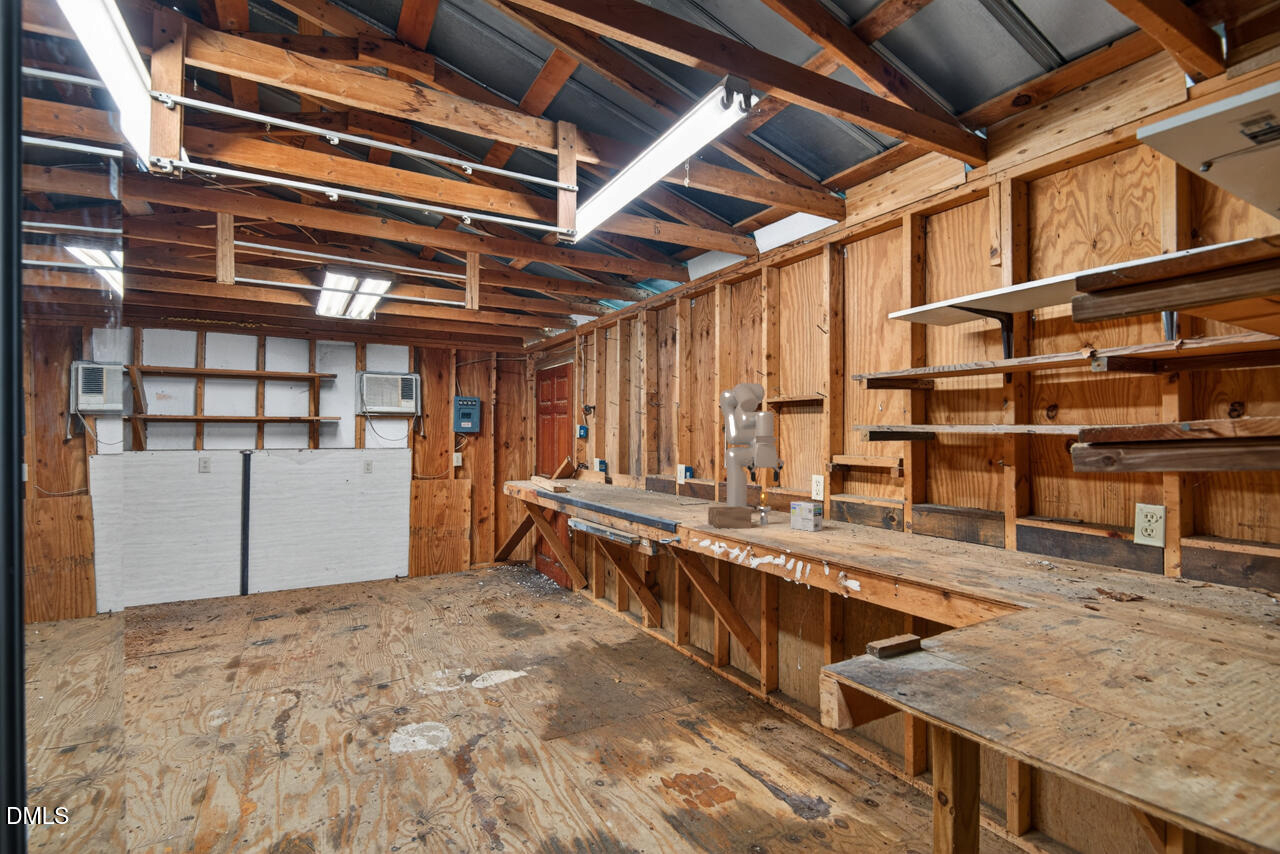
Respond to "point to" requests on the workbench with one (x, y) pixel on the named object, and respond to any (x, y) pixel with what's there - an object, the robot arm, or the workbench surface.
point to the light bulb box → (806, 516)
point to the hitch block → (729, 517)
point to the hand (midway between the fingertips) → (764, 481)
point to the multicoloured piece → (764, 508)
